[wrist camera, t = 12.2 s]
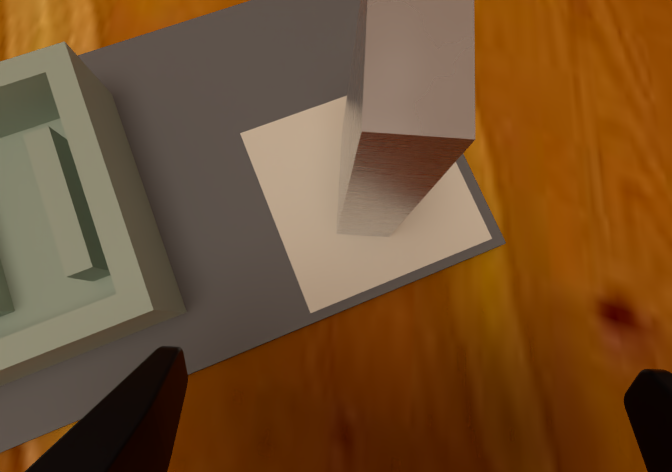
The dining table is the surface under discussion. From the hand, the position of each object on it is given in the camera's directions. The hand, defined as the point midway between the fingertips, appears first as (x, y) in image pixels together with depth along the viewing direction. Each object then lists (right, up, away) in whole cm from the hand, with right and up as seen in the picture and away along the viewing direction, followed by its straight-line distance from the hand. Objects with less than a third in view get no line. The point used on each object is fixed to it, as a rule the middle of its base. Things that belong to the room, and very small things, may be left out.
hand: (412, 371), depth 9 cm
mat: (-8, +5, +12) cm, 15 cm away
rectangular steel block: (0, +5, +12) cm, 13 cm away
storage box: (-14, +3, +11) cm, 18 cm away
